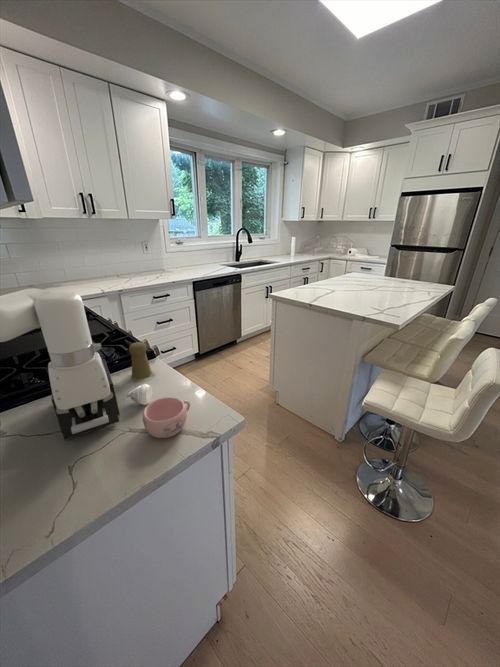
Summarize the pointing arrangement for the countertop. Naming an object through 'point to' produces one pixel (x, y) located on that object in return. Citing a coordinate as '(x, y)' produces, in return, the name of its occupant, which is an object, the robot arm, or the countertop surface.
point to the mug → (165, 416)
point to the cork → (139, 361)
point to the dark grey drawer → (75, 426)
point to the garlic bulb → (141, 394)
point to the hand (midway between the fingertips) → (92, 426)
